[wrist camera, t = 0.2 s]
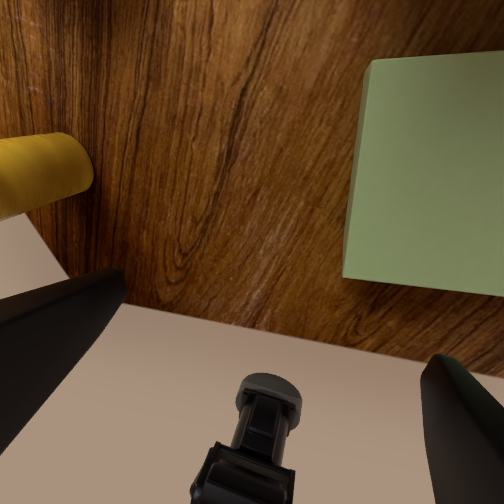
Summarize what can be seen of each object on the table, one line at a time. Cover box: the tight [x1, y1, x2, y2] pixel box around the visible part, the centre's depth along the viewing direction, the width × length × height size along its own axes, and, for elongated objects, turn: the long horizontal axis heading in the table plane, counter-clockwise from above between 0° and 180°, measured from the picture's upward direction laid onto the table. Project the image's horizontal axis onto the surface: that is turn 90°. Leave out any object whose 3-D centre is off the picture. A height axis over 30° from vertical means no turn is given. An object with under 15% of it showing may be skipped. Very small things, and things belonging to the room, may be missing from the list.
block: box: [342, 50, 504, 297], centre depth 14 cm, size 10×10×5 cm
